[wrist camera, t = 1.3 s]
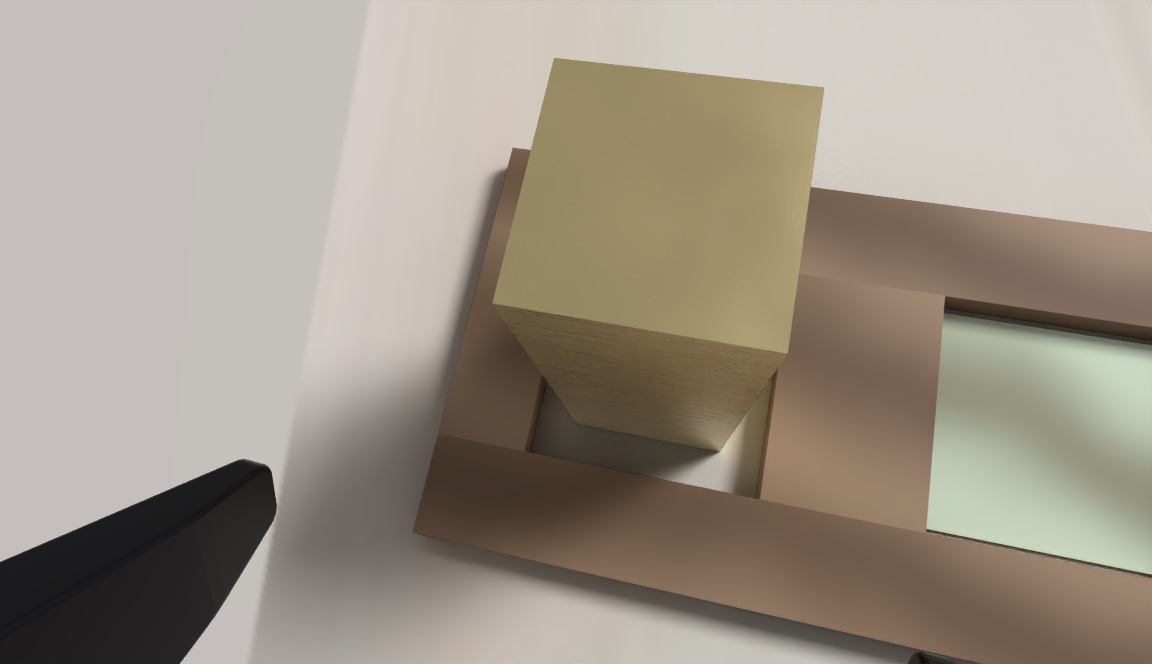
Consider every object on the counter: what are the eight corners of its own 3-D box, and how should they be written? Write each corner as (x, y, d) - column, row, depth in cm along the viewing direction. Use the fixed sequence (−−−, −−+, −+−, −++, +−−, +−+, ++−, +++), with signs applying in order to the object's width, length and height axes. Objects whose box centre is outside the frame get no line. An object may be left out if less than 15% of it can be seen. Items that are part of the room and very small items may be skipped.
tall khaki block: (719, 451, 22) (788, 353, 10) (576, 423, 22) (492, 303, 11) (741, 314, 23) (824, 87, 11) (604, 291, 24) (554, 57, 12)
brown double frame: (1304, 735, 18) (1339, 745, 17) (423, 533, 22) (412, 533, 21) (1281, 265, 21) (1310, 253, 20) (518, 162, 25) (512, 147, 24)
